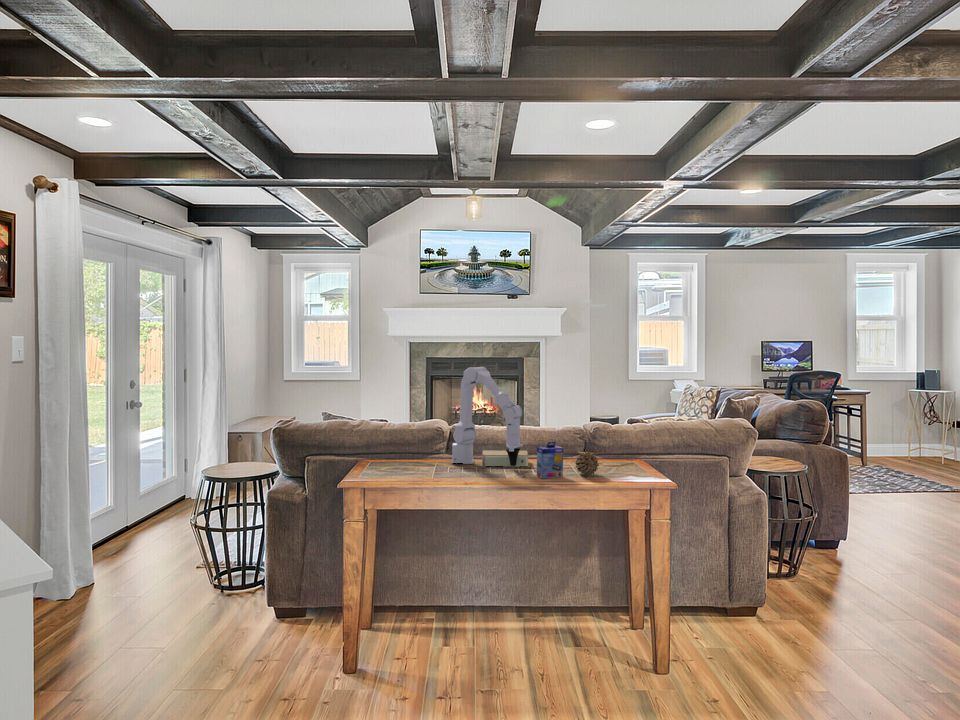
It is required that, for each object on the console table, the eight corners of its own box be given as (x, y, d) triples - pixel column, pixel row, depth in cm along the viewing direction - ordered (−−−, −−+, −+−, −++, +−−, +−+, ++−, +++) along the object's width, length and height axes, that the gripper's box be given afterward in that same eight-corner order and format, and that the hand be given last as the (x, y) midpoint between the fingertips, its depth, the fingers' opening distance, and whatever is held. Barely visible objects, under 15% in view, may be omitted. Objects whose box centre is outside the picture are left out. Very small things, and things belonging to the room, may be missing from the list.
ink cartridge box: (542, 479, 263) (542, 443, 262) (535, 476, 268) (535, 441, 268) (563, 477, 267) (564, 441, 266) (557, 474, 272) (557, 439, 271)
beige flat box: (482, 466, 290) (482, 455, 289) (482, 461, 302) (482, 450, 301) (527, 466, 289) (527, 455, 289) (527, 461, 301) (526, 450, 301)
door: (483, 466, 288) (482, 457, 287) (483, 465, 289) (483, 456, 289) (525, 466, 287) (525, 457, 287) (525, 466, 289) (525, 456, 289)
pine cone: (602, 479, 263) (602, 454, 263) (578, 479, 263) (578, 454, 262) (591, 468, 285) (591, 445, 285) (568, 468, 285) (568, 445, 284)
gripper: (521, 436, 274) (521, 469, 275) (524, 431, 289) (524, 462, 289) (504, 436, 276) (504, 468, 276) (507, 431, 290) (508, 462, 290)
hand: (513, 465), depth 283 cm, fingers closed
